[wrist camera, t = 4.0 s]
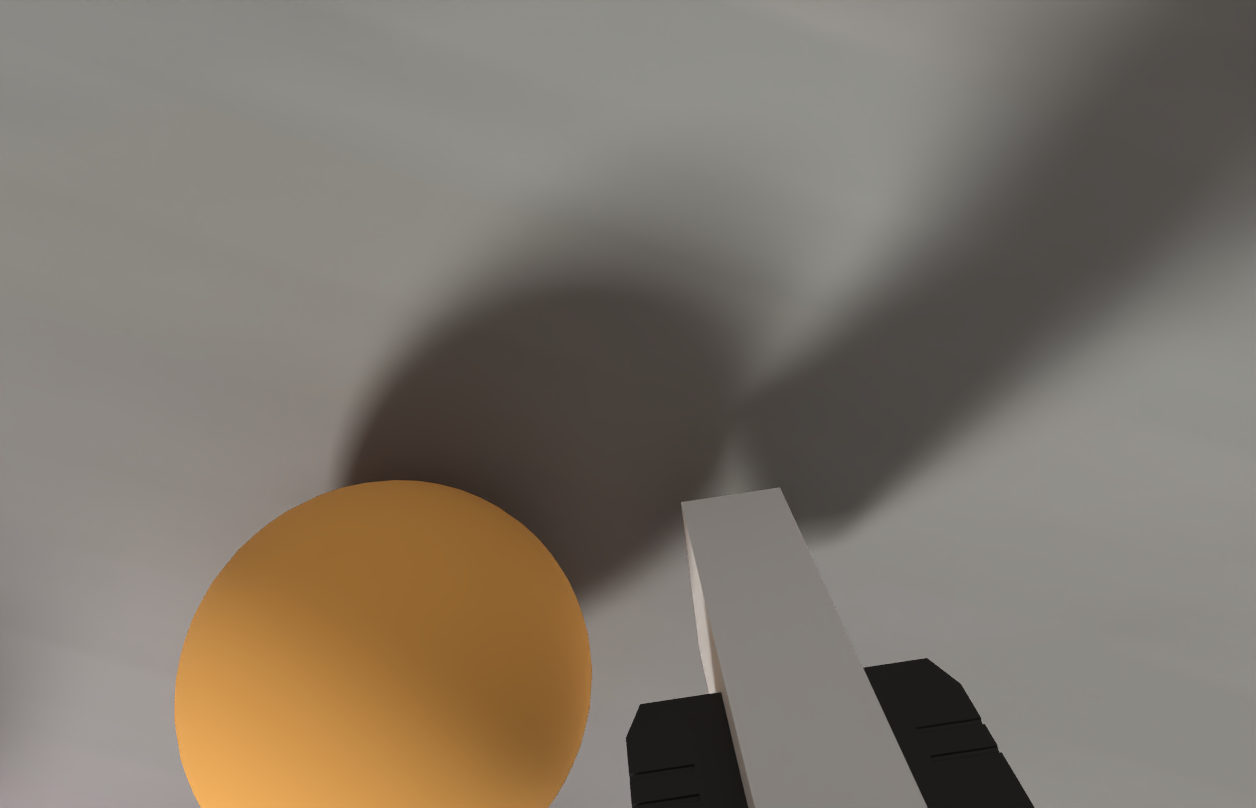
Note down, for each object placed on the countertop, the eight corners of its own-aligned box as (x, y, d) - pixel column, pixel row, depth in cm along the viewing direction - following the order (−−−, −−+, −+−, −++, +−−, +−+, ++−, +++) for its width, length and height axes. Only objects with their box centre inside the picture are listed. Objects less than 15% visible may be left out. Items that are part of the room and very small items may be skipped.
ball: (305, 720, 16) (187, 1034, 11) (209, 445, 14) (7, 682, 9) (610, 674, 16) (626, 969, 11) (560, 393, 14) (551, 602, 9)
